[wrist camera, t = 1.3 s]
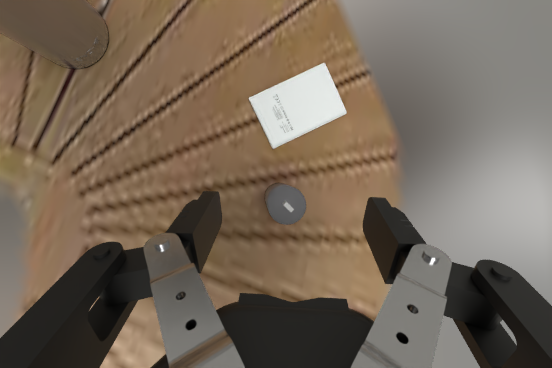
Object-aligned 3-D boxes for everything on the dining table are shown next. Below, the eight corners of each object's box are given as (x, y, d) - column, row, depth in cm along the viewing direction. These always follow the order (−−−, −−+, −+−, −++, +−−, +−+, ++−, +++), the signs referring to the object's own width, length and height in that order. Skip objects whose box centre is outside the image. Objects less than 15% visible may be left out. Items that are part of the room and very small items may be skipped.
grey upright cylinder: (258, 197, 35) (260, 207, 25) (279, 176, 36) (288, 178, 25) (279, 217, 36) (288, 235, 26) (299, 196, 36) (316, 206, 26)
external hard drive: (343, 115, 37) (272, 149, 36) (321, 66, 36) (248, 100, 35) (347, 113, 35) (273, 148, 34) (324, 61, 34) (248, 96, 33)
